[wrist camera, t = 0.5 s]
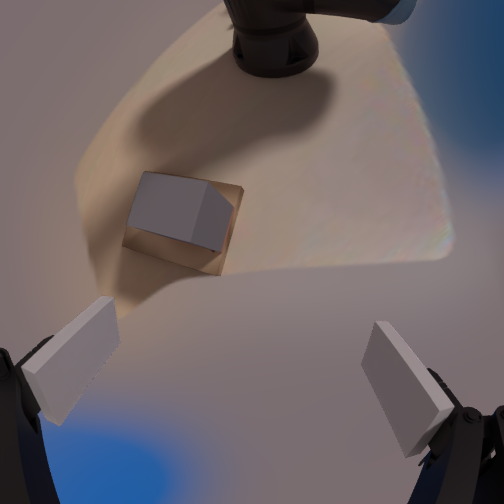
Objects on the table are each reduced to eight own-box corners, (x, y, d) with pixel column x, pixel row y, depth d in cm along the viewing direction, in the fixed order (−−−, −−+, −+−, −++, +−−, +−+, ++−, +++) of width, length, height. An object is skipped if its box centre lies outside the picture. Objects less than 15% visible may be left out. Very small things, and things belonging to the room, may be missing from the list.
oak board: (150, 174, 40) (144, 170, 39) (244, 190, 37) (241, 186, 35) (128, 247, 40) (121, 245, 38) (220, 275, 36) (216, 275, 35)
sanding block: (181, 196, 37) (143, 171, 27) (235, 207, 35) (208, 181, 25) (169, 238, 36) (126, 225, 27) (222, 252, 35) (190, 242, 25)
